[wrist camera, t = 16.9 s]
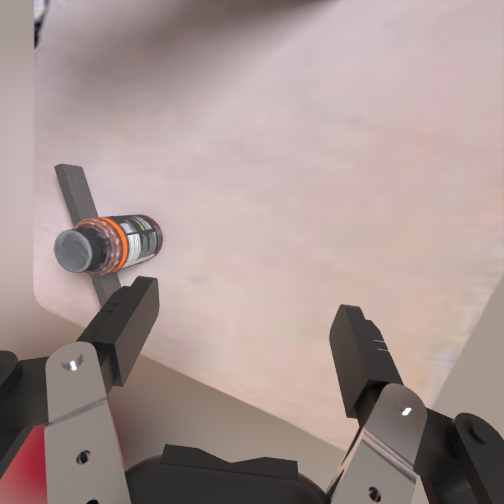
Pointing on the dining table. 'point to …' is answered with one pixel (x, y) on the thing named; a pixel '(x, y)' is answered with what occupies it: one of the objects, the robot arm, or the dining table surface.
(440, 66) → the dining table surface
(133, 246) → the supplement bottle
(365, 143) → the dining table surface
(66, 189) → the rail
